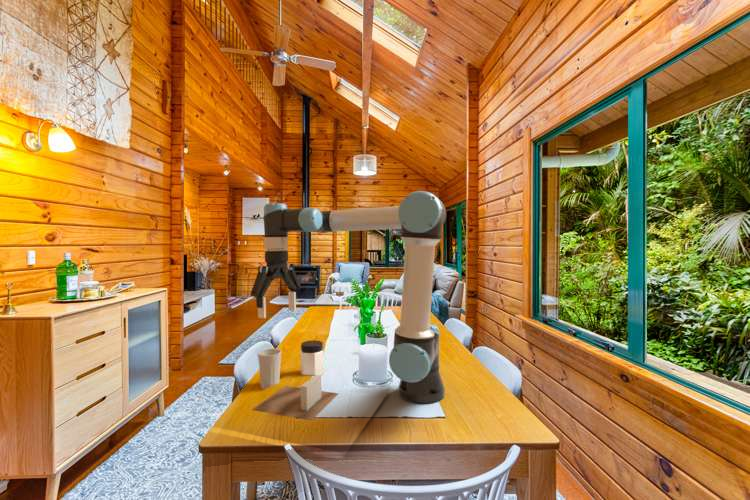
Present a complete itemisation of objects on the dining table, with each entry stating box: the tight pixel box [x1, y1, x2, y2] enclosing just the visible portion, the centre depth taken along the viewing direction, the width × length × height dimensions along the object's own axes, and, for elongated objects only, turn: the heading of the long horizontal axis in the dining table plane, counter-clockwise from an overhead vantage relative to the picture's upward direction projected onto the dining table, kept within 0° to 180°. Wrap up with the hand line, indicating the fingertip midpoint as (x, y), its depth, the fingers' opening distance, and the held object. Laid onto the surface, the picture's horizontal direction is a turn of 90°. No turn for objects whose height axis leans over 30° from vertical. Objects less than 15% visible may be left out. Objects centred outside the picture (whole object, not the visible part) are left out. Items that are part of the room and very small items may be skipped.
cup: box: [257, 348, 282, 390], centre depth 124 cm, size 8×8×12 cm
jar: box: [300, 339, 325, 377], centre depth 135 cm, size 9×8×12 cm
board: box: [251, 385, 339, 421], centre depth 110 cm, size 20×18×1 cm
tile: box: [300, 375, 322, 411], centre depth 108 cm, size 2×9×7 cm, turn 161°
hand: (278, 313), depth 118 cm, fingers open, 13 cm apart
